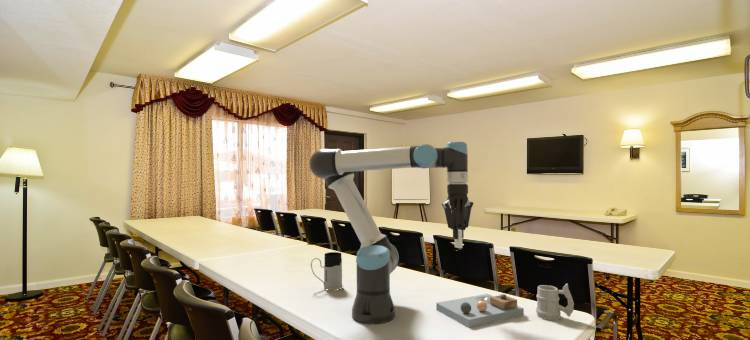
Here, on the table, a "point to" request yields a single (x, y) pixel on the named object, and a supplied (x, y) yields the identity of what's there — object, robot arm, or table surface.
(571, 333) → the table surface
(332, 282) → the glass holder
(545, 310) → the mug
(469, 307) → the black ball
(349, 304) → the table surface
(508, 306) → the cover
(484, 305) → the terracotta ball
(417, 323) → the table surface
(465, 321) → the board
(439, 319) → the table surface
